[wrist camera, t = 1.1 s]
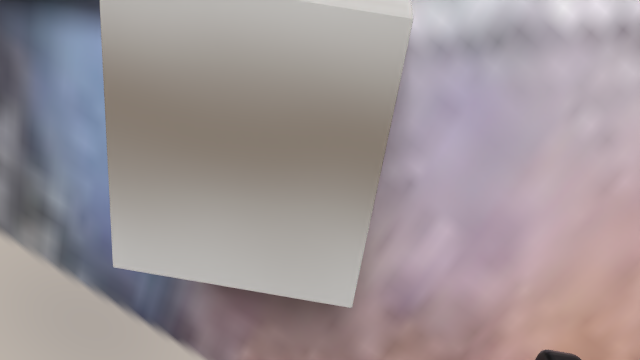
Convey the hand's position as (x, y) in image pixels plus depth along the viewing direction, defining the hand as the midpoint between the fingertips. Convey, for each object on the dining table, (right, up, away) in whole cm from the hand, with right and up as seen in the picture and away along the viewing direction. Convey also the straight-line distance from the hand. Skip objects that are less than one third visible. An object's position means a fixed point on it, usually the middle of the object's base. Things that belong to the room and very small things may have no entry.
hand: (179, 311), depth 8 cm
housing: (+1, +5, +8) cm, 10 cm away
